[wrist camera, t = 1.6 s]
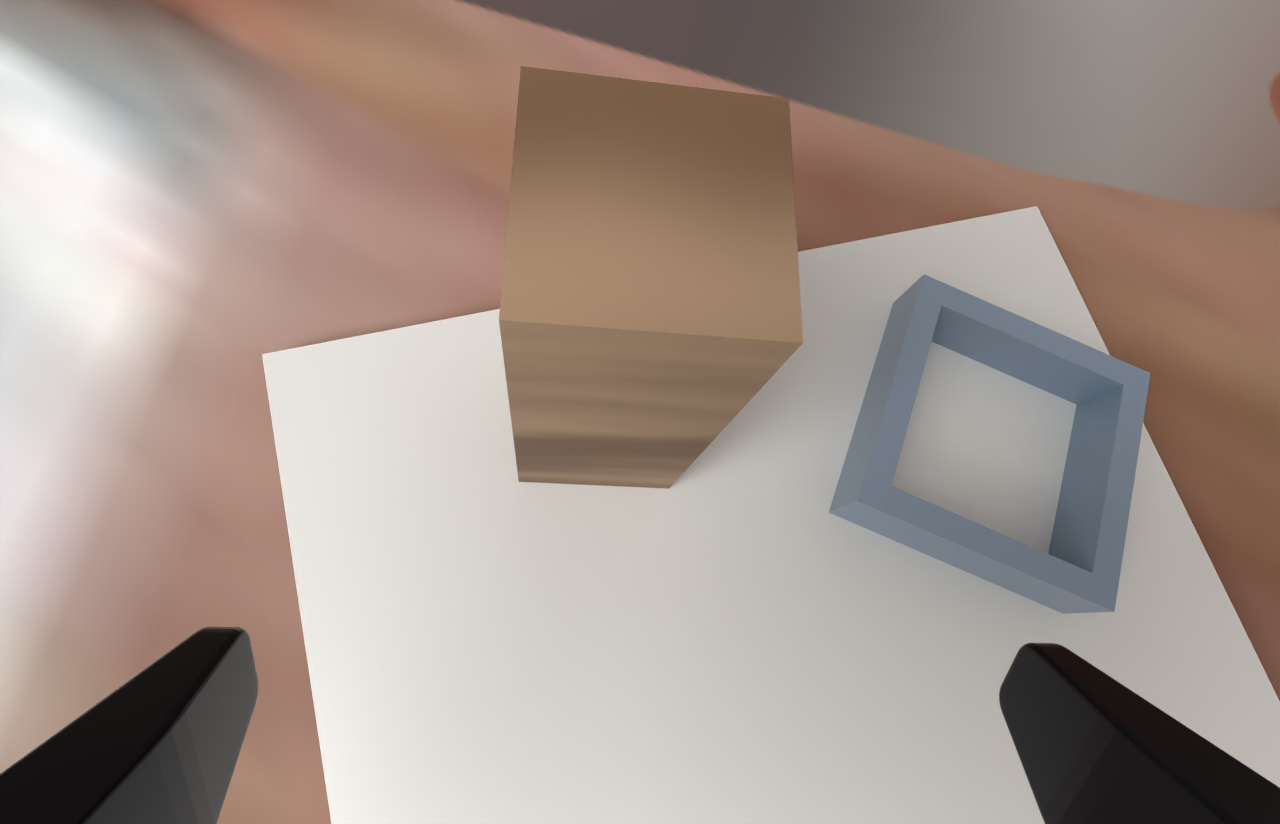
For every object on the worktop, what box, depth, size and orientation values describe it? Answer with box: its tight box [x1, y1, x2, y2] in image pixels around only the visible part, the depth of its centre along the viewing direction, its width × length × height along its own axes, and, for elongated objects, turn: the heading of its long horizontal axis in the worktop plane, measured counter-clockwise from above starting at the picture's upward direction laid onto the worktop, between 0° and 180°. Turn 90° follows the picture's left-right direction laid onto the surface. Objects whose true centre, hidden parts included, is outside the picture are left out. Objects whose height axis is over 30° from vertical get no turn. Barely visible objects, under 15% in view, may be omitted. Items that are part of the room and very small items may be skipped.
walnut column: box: [499, 66, 803, 489], centre depth 16 cm, size 4×4×11 cm
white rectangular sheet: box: [262, 206, 1280, 824], centre depth 21 cm, size 21×27×1 cm
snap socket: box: [829, 274, 1150, 614], centre depth 21 cm, size 8×8×2 cm
